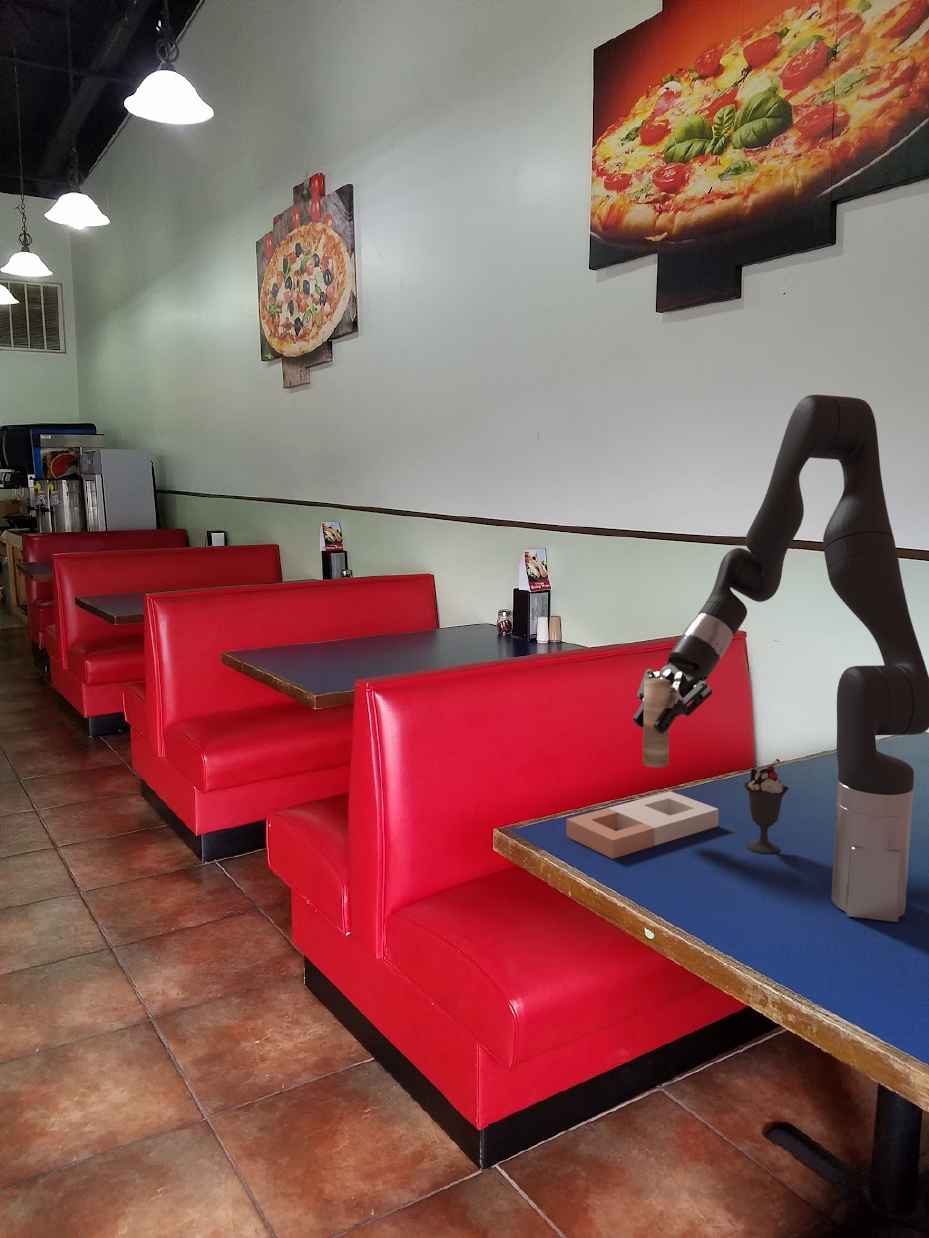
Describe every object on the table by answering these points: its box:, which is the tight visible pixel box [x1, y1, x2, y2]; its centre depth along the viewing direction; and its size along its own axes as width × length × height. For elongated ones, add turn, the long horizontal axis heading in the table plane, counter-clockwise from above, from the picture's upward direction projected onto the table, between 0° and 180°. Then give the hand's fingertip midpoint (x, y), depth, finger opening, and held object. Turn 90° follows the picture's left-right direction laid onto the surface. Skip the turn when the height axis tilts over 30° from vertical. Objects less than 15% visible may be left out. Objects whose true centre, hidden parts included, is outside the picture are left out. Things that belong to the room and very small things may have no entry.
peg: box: [642, 678, 670, 768], centre depth 149 cm, size 4×4×14 cm
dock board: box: [565, 790, 720, 860], centre depth 150 cm, size 24×11×3 cm, turn 124°
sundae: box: [743, 758, 789, 855], centre depth 142 cm, size 7×7×15 cm
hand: (647, 726), depth 148 cm, fingers closed on peg, 4 cm apart
